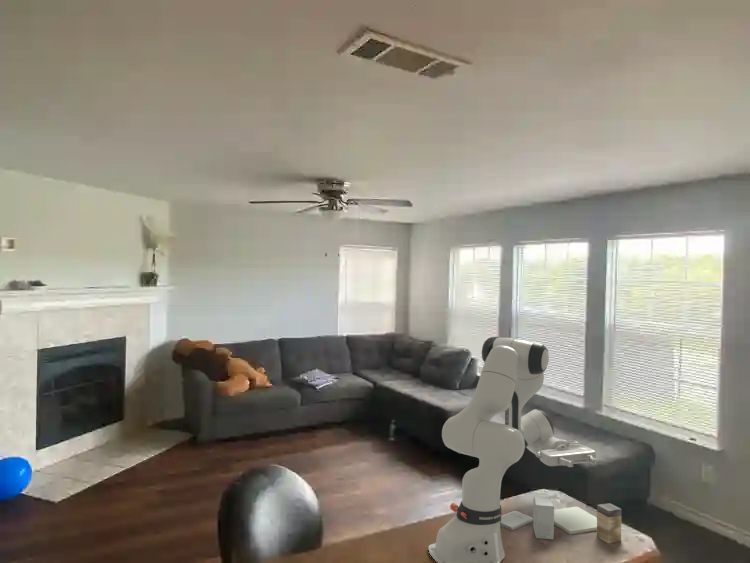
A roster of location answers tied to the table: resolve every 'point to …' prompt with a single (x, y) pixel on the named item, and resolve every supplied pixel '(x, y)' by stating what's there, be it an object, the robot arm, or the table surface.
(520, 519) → the external hard drive
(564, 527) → the sage board
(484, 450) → the robot arm
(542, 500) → the small box
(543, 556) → the table surface
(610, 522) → the maple block
